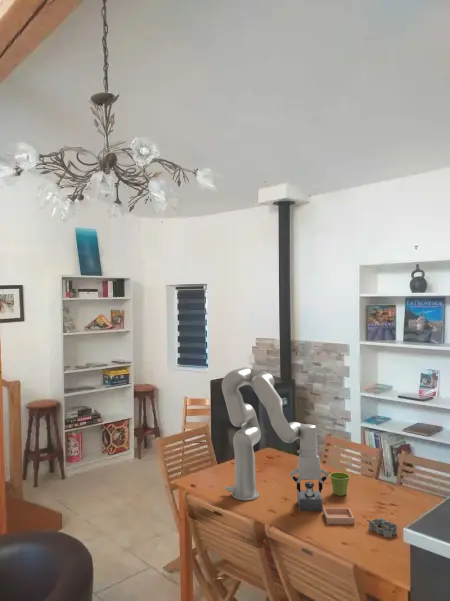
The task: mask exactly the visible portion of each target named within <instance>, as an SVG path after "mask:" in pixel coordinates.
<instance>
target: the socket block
mask: <svg viewBox="0 0 450 601" xmlns="http://www.w3.org/2000/svg"><path fill="white" fill-rule="evenodd" d="M296 493H297V504H298V509H299V512H300V511H301V512H304V511H305V512H310V511H311V512H323V508H324V506H323V504H324V503H323V497H322V494H321V493H320V492H319V490H313V497H306V490H300V492H299V491H298V490H297V492H296Z"/></svg>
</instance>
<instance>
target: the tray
mask: <svg viewBox="0 0 450 601" xmlns="http://www.w3.org/2000/svg"><path fill="white" fill-rule="evenodd" d="M322 512H323V517H324V520H325V522H326V525H355V522H356V521H355V517H354V514H353V513H352V510H351V507H323V511H322Z"/></svg>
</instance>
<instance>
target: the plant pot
mask: <svg viewBox="0 0 450 601" xmlns="http://www.w3.org/2000/svg"><path fill="white" fill-rule="evenodd" d="M350 477H351V476H350V475H349V474H348V473H346V472H341V471H337V472H335V471H334V472H331V473H330V474H329V478H330V480H331V486H332V487H331V488H332V493H333V495H336V496H338V497H343V496H346V495H347V492H348V484H349V480H350Z"/></svg>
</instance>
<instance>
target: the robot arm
mask: <svg viewBox="0 0 450 601" xmlns="http://www.w3.org/2000/svg"><path fill="white" fill-rule="evenodd" d="M244 386H250V387H251V388H252V390H253V392H254V393H255V394H256V396H257V398H258V399H259V400H260V402H261V403H262V405H263V407H264V408H265V409H266V411H267V415H268V419H269V421H270V425H271V427H272V428H273V430H274V431H275V433H276V434H277V437H278V438H279V439H281V441H282V442H284V443H286V444H291V443H294V442H295V441H296V440H298V439H299V440H300V441H299V442H300V444H299V445H300V447H299V449H297V451H296V452H297V454H299V455H298V462H297V468H295V469H293V470H292V471H290V472H289V473H290V474H289V475H290V476H291V478H292V480H293V481H294V482H295V483H296V490H297V491H299V492H300V491H301V481H303V480H305V481H307V480H308V481H310V480H311V481H313V480H314V481H316V480H317V481H318V491H319V492H320V494H321V493H322V491H323V484H324V482H325V481H326V480H327V478H328V476H330V474H329V472H328V471H327V470H325V469H323V468H322V467H321V466H322V465H321V459H320V456H319V455H318V428H317V425H314V424H310V423H306V424H304V423H301V422H297V421H292V422H291V421H290V422H288V420H287V418H286V417H285V414H284V412H283V411H284V410H283V399H282V398H281V396H280V395H279V393H278V392H277V390H276V389H275V387H274V386H275V379H274V377H273V375H271V373H268V372H265V371H262V370H257V369H253V368H251V367H241V368H236V369H233V370H231V371H229V372H228V373H226V374H225V376H224V377H223V379H222V381H221V391H222V394H223V398H224V401H225V405H226V409H227V414H228V417H229V421H230V423H231V425H233V427H237V428H239V427H241V429H239V430H238V431H236V432H235V433H234V435H233V439H232V445H233V451H234V480H235V481H234V482H235V483H234V485H232V486H225V491H228V493H231V497H232V498H234V499H235V500H239V501H252V500H256V499H257V498H259V495H260V493H259V491H257V490H256V456H255V451H254V446H255V445H257V443H259V442H260V440H261V436H262V432H261V428H260V424H259V420H258V417H257V413H256V410H255V408H254V407H253V405H251V404H249V403H245V401H244V398H243V395H242V393H241V391H240V388H241V387H244ZM295 474H297V476H295ZM322 474H323V476H322Z"/></svg>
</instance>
